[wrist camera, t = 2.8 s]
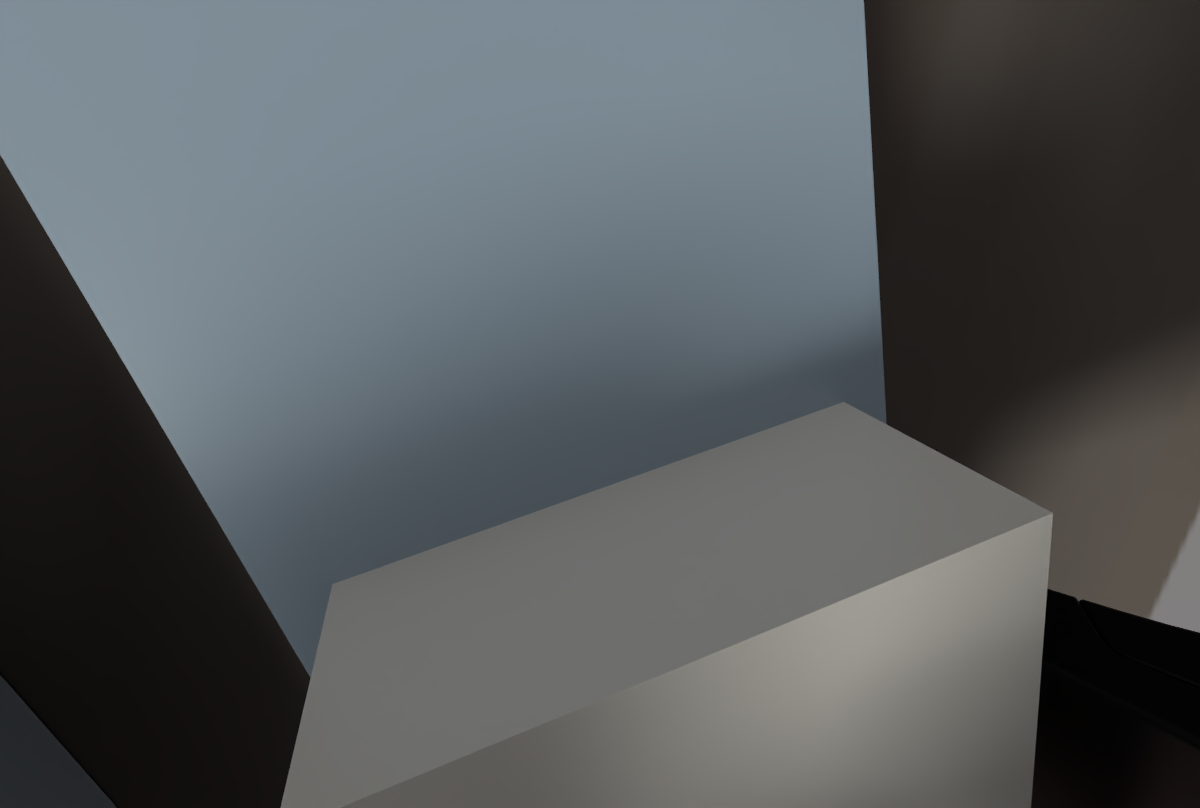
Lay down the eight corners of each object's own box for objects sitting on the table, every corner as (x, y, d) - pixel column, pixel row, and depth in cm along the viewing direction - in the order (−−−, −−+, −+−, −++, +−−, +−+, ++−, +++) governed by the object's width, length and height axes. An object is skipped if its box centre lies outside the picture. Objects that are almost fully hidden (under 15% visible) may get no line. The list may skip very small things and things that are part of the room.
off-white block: (865, 665, 7) (1027, 843, 5) (466, 838, 7) (484, 1121, 5) (843, 401, 6) (1053, 513, 4) (332, 583, 5) (272, 835, 3)
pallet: (803, 799, 14) (916, 984, 11) (552, 916, 13) (594, 1156, 10) (673, -24, 7) (854, -174, 4) (161, 90, 7) (-87, 8, 3)
